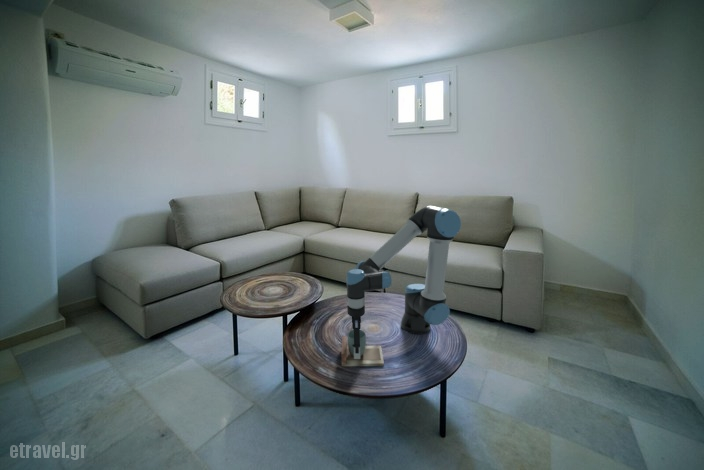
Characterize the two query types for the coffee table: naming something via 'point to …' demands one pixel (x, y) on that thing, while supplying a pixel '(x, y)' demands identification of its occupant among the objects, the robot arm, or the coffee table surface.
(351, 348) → the cup
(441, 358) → the coffee table surface
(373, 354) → the tray
